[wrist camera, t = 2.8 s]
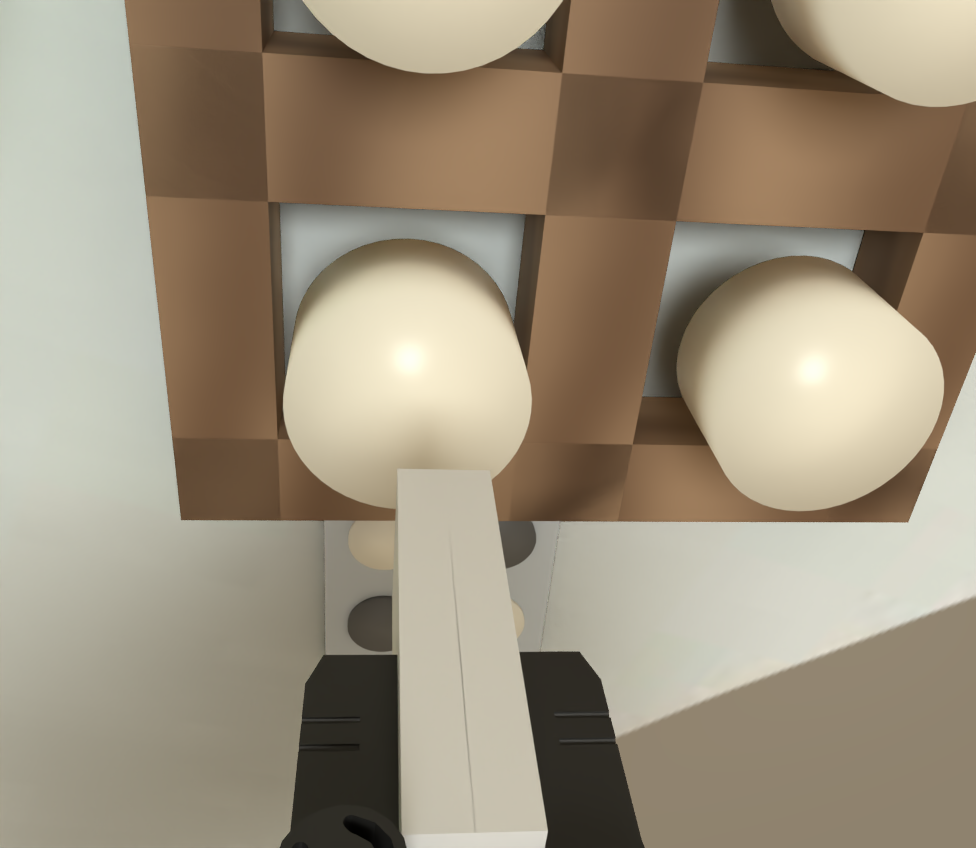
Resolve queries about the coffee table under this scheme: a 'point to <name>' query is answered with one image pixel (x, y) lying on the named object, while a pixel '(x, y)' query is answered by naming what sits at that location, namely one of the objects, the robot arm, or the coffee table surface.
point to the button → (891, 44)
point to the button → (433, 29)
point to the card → (369, 582)
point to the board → (526, 232)
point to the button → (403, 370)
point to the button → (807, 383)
